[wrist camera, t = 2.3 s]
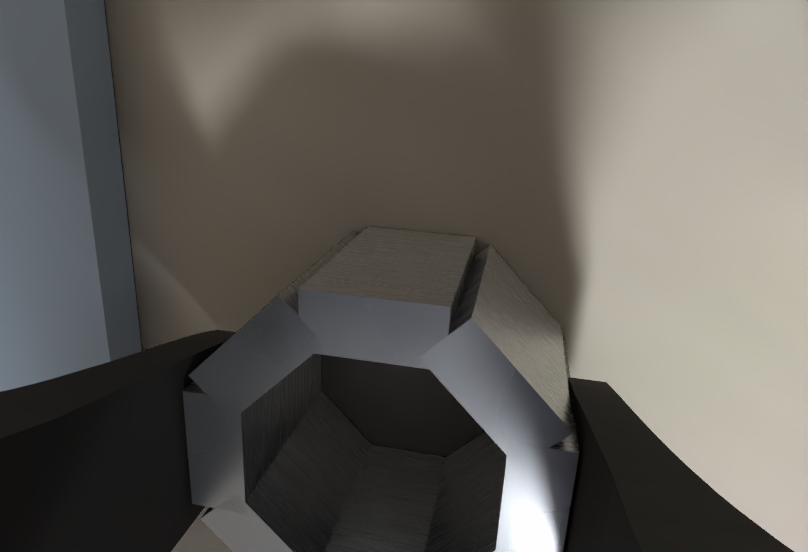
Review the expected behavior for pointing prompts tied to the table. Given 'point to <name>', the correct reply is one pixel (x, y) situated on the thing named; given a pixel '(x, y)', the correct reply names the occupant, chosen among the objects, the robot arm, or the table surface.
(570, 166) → the table surface
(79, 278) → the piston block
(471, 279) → the ring
